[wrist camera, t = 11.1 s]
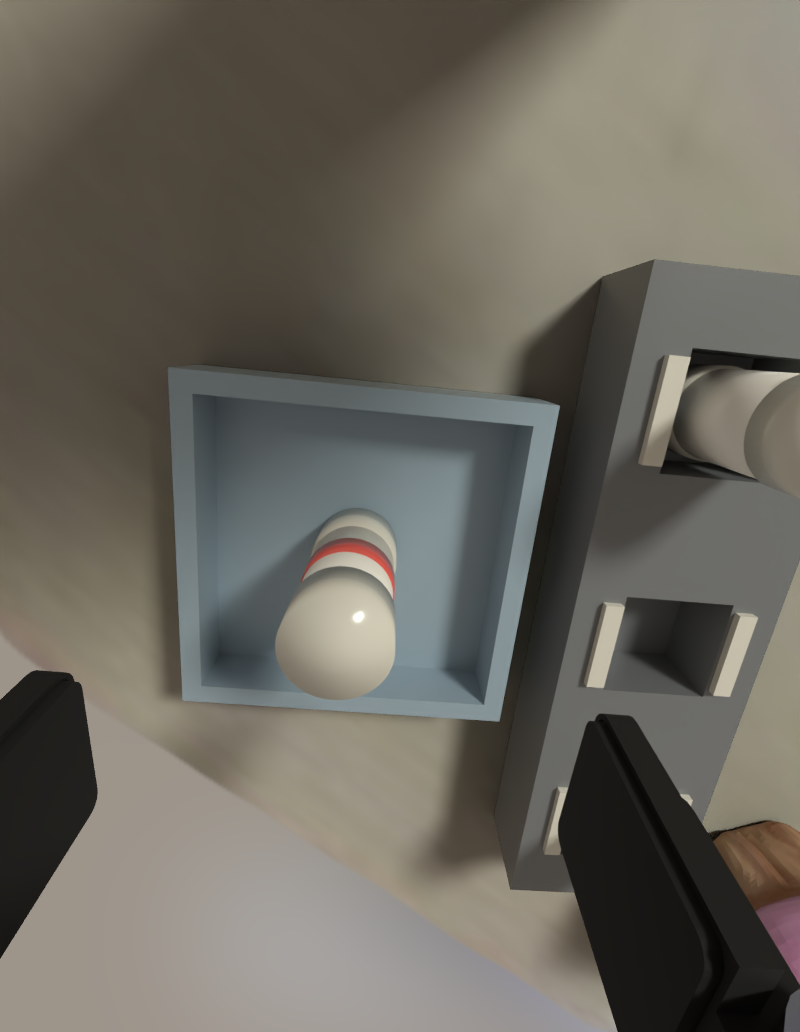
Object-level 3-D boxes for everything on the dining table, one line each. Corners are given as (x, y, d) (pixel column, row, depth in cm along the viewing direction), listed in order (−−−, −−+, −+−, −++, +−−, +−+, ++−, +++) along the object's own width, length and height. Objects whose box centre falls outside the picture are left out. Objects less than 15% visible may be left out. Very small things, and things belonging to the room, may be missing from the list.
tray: (198, 364, 20) (167, 367, 17) (536, 397, 21) (560, 405, 18) (206, 659, 24) (182, 700, 22) (486, 678, 25) (499, 721, 22)
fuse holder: (602, 276, 19) (659, 258, 15) (802, 298, 20) (910, 286, 16) (493, 815, 28) (511, 895, 24) (635, 823, 28) (677, 904, 24)
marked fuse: (319, 504, 21) (275, 591, 14) (400, 511, 22) (400, 601, 14) (316, 577, 22) (274, 696, 15) (393, 583, 23) (390, 704, 15)
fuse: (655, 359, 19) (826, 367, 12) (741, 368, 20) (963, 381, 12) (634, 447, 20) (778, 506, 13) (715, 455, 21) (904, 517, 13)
